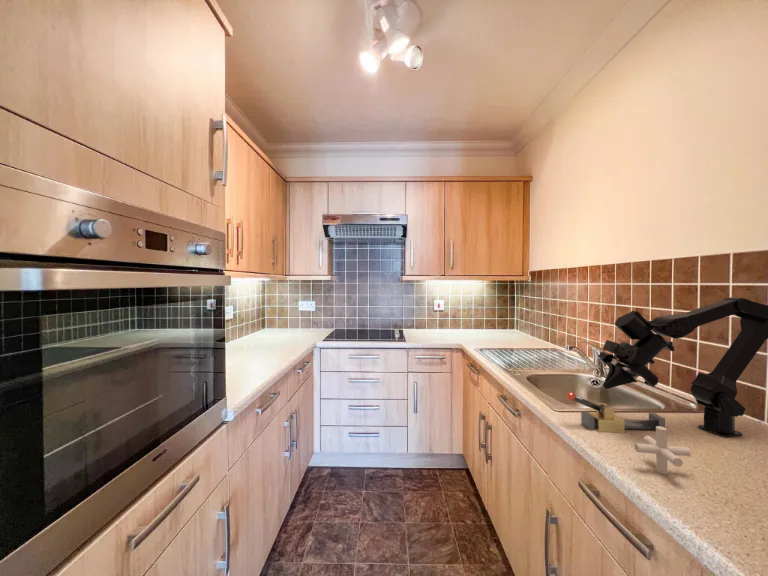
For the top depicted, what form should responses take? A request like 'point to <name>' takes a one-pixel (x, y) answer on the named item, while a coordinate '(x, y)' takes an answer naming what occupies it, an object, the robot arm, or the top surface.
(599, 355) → the robot arm
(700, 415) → the top surface
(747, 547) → the top surface
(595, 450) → the top surface
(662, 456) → the pipe connector
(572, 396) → the valve lever
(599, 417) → the valve pipe
